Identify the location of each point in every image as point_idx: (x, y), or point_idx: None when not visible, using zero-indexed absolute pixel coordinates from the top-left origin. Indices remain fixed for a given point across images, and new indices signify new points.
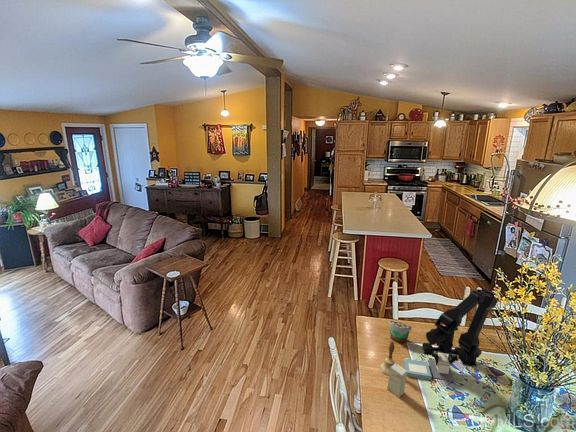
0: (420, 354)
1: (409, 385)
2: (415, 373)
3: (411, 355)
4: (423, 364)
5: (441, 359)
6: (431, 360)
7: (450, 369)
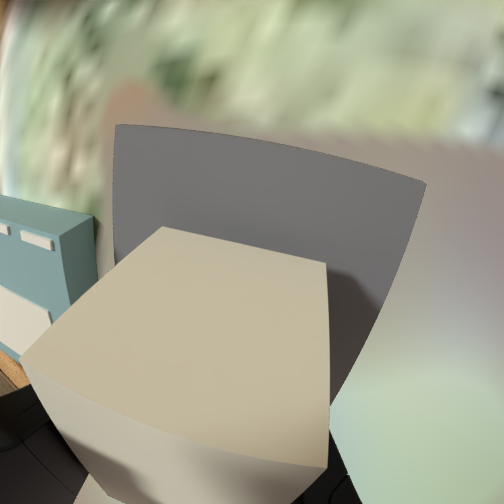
0: (76, 27)
1: (26, 375)
2: (13, 357)
3: (4, 86)
4: (32, 283)
5: (135, 491)
6: (160, 132)
7: (374, 317)
